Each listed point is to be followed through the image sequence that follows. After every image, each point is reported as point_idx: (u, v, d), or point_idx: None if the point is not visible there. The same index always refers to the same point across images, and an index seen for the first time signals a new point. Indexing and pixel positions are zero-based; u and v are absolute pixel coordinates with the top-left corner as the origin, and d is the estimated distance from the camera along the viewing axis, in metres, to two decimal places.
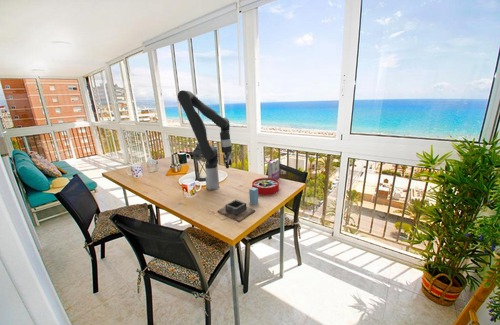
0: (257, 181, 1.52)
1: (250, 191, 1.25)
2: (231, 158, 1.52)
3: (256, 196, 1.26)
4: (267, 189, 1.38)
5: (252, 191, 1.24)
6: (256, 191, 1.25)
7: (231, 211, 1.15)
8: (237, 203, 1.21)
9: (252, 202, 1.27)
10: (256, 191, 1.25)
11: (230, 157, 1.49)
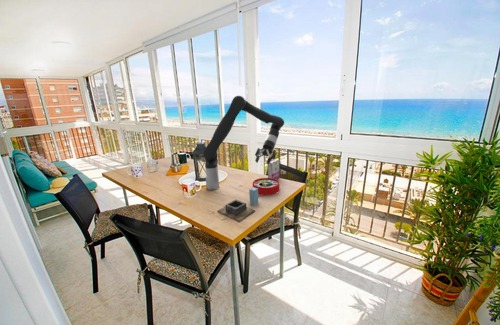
0: (257, 181, 1.52)
1: (250, 191, 1.25)
2: None
3: (256, 196, 1.26)
4: (267, 189, 1.38)
5: (252, 191, 1.24)
6: (256, 191, 1.25)
7: (231, 211, 1.15)
8: (237, 203, 1.21)
9: (252, 202, 1.27)
10: (256, 191, 1.25)
11: (262, 155, 1.35)
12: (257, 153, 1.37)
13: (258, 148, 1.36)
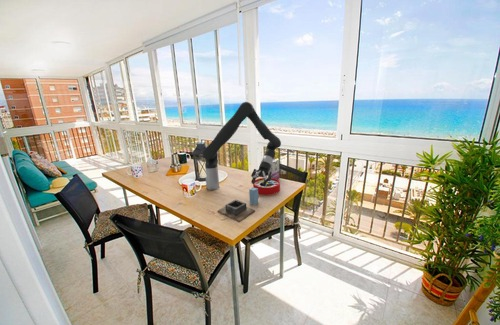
0: (258, 181, 1.52)
1: (250, 191, 1.25)
2: None
3: (256, 196, 1.26)
4: (268, 189, 1.38)
5: (252, 191, 1.24)
6: (256, 191, 1.25)
7: (231, 211, 1.15)
8: (237, 203, 1.21)
9: (252, 202, 1.27)
10: (256, 191, 1.25)
11: (259, 176, 1.34)
12: None
13: (254, 169, 1.35)
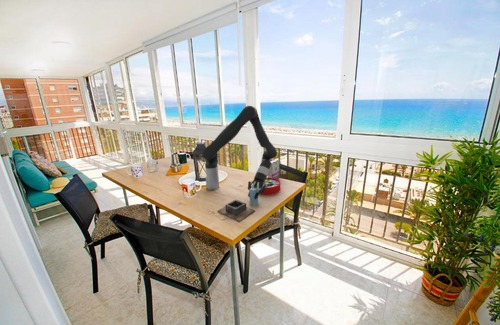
0: None
1: (250, 191, 1.25)
2: None
3: None
4: (269, 189, 1.38)
5: (252, 191, 1.24)
6: (256, 191, 1.25)
7: (231, 211, 1.15)
8: (237, 203, 1.21)
9: (252, 202, 1.27)
10: (256, 191, 1.25)
11: None
12: None
13: (249, 181, 1.32)
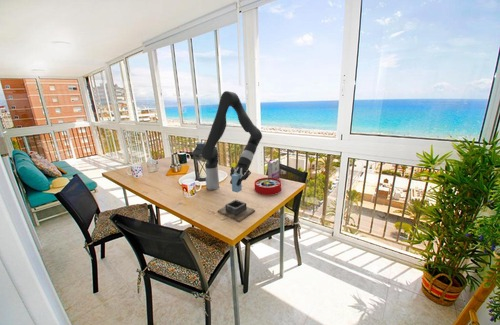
0: (259, 181, 1.52)
1: (232, 177, 1.13)
2: None
3: None
4: (270, 189, 1.38)
5: (234, 177, 1.12)
6: None
7: (231, 211, 1.15)
8: (237, 203, 1.21)
9: (234, 189, 1.14)
10: (238, 177, 1.12)
11: None
12: (232, 173, 1.19)
13: (231, 167, 1.19)
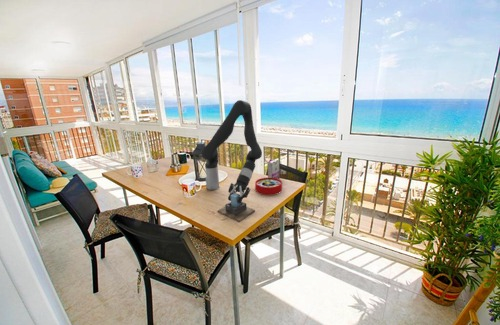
0: (260, 181, 1.53)
1: (231, 197, 1.15)
2: None
3: None
4: (270, 189, 1.38)
5: (233, 197, 1.14)
6: (238, 197, 1.15)
7: (231, 211, 1.15)
8: None
9: None
10: (237, 197, 1.15)
11: (236, 191, 1.20)
12: None
13: (231, 183, 1.21)
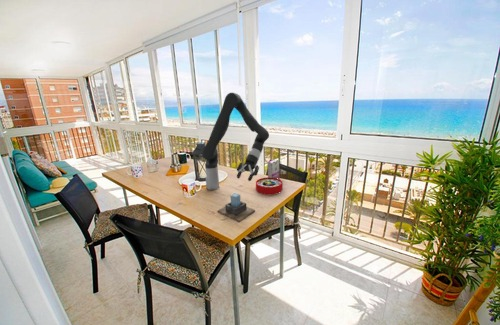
0: (260, 181, 1.53)
1: (231, 197, 1.15)
2: None
3: (238, 202, 1.16)
4: (271, 188, 1.39)
5: (233, 197, 1.14)
6: (238, 197, 1.15)
7: (231, 211, 1.15)
8: None
9: None
10: (237, 197, 1.15)
11: (245, 170, 1.26)
12: (239, 168, 1.28)
13: (240, 163, 1.27)
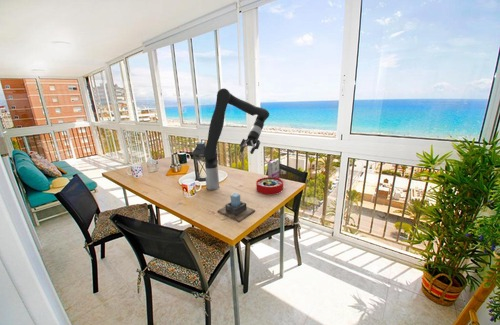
0: (261, 180, 1.53)
1: (231, 197, 1.15)
2: None
3: (238, 202, 1.16)
4: (272, 188, 1.39)
5: (233, 197, 1.14)
6: (238, 197, 1.15)
7: (231, 211, 1.15)
8: None
9: None
10: (237, 197, 1.15)
11: (247, 145, 1.38)
12: (242, 144, 1.40)
13: (243, 139, 1.39)
